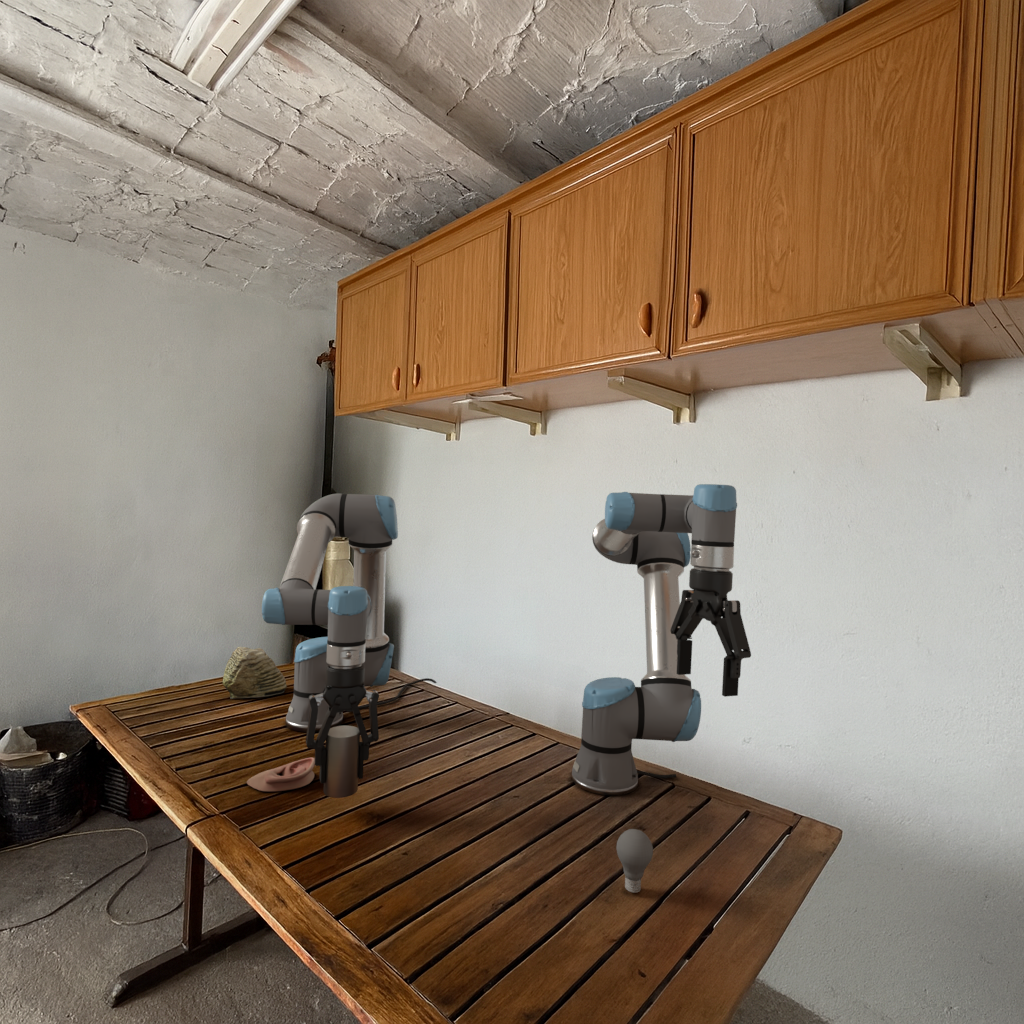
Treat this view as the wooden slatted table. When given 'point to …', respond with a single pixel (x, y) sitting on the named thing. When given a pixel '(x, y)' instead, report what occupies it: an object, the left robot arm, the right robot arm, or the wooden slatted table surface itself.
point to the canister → (342, 761)
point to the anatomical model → (284, 776)
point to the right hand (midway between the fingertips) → (705, 684)
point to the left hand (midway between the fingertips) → (341, 778)
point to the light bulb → (634, 857)
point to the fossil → (252, 674)
